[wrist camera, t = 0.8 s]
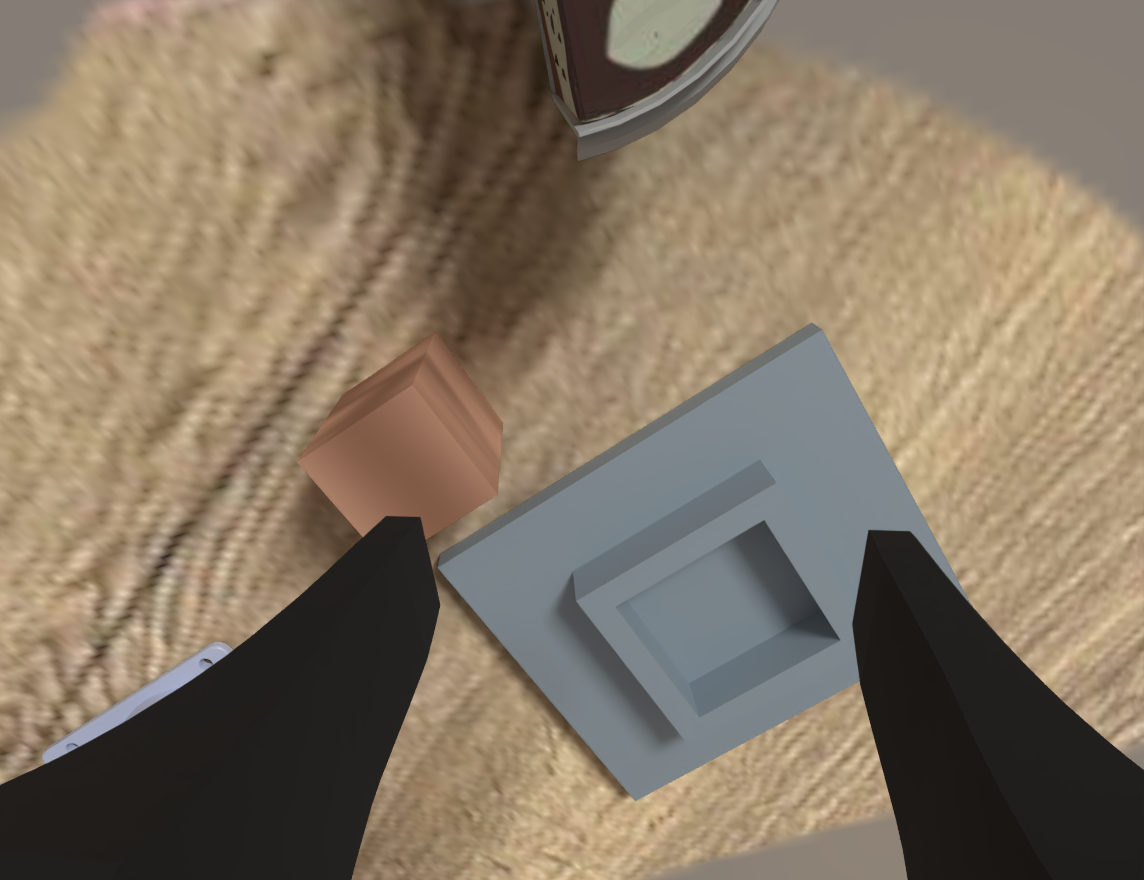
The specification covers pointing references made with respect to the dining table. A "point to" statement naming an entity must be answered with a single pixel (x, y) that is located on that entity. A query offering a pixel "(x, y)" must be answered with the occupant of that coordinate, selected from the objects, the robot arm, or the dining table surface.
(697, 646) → the base board
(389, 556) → the robot arm
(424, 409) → the terracotta block
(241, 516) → the dining table surface
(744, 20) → the food container
